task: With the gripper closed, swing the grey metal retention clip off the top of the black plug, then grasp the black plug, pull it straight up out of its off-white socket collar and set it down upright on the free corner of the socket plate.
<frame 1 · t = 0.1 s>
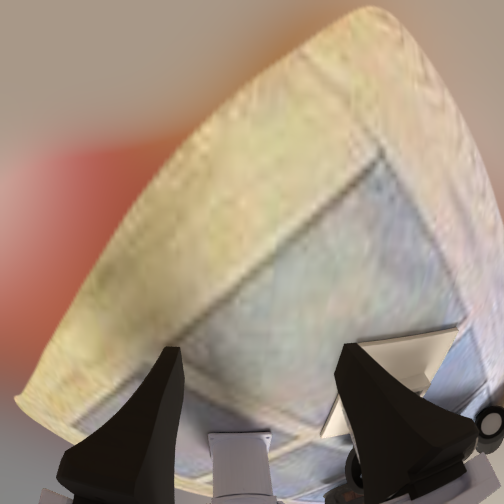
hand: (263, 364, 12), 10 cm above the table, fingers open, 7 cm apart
portable speaker: (482, 419, 47), on the table
clip: (394, 424, 26), point 5 cm above the table, hinge at 0.0°
tankard: (349, 486, 49), on the table
muzzle brake: (411, 431, 38), on the table
socket base: (390, 392, 30), on the table
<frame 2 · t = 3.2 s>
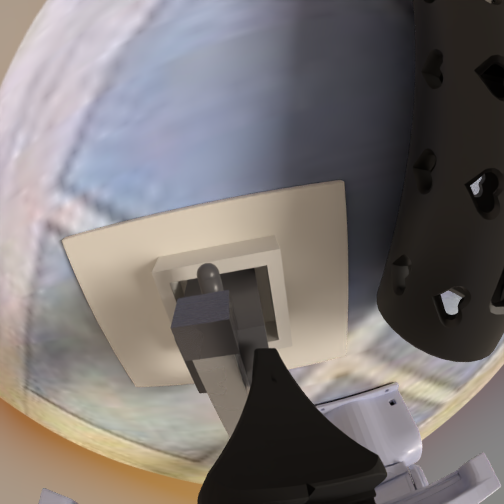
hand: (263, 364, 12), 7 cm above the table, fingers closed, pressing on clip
clip: (233, 360, 15), point 5 cm above the table, hinge at 0.2°, touching gripper
muzzle brake: (430, 85, 14), on the table
plug: (227, 295, 18), point 1 cm above the table, touching socket base
socket base: (227, 290, 19), on the table
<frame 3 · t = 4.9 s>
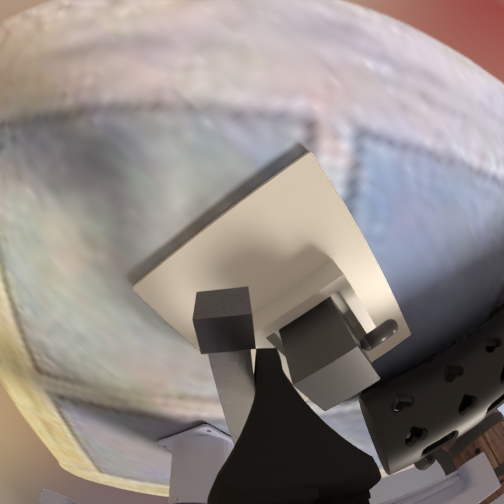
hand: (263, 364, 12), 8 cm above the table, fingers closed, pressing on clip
clip: (237, 358, 15), point 5 cm above the table, hinge at 58.4°, touching gripper
tankard: (453, 422, 35), on the table
muzzle brake: (463, 334, 25), on the table
plug: (314, 321, 20), point 1 cm above the table, touching socket base
socket base: (312, 316, 21), on the table
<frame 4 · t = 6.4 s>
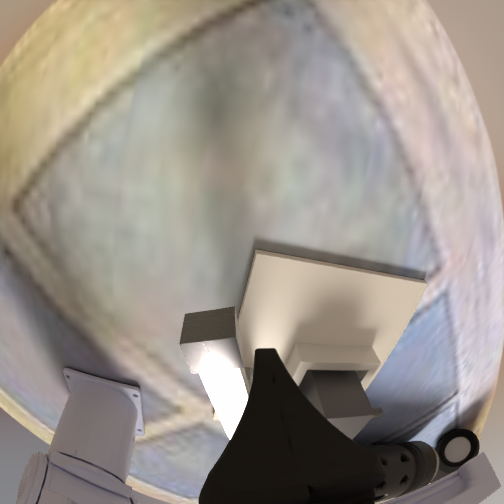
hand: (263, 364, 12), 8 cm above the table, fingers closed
portable speaker: (443, 446, 42), on the table
clip: (235, 368, 15), point 5 cm above the table, hinge at 111.7°, touching gripper
muzzle brake: (351, 443, 32), on the table
plug: (320, 375, 23), point 1 cm above the table, touching socket base
socket base: (318, 370, 23), on the table
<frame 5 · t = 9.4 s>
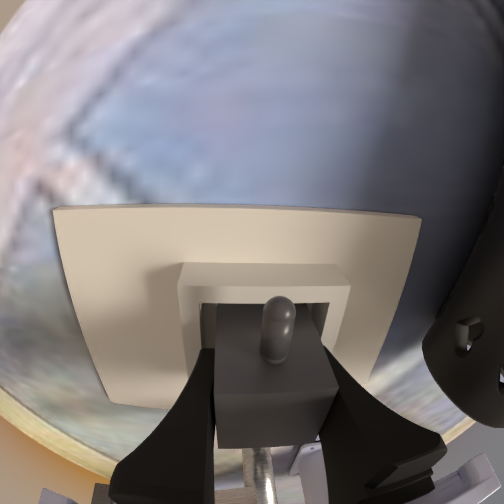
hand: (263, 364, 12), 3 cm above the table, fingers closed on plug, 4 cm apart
clip: (178, 465, 14), point 5 cm above the table, hinge at 111.9°
plug: (257, 324, 14), point 1 cm above the table, touching gripper, socket base
socket base: (256, 317, 15), on the table
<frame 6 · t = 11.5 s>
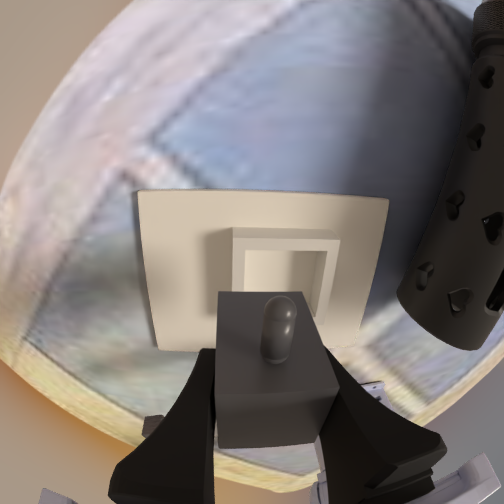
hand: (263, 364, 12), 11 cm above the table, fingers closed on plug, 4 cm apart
clip: (217, 392, 21), point 5 cm above the table, hinge at 111.9°
muzzle brake: (462, 142, 19), on the table
plug: (258, 324, 14), point 8 cm above the table, touching gripper
socket base: (278, 269, 22), on the table
when the fingers open (5 cm above the table, at t = 13.5 s): plug drops 2 cm, resting on socket base.
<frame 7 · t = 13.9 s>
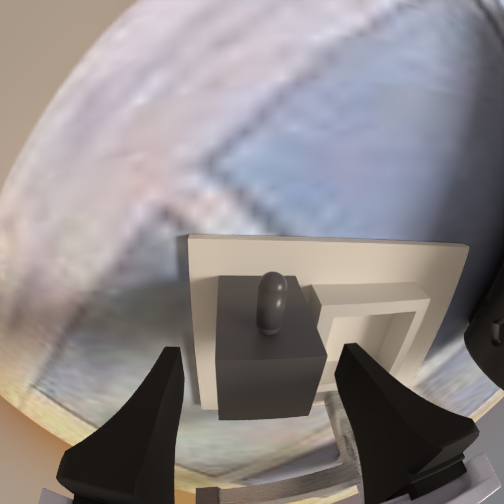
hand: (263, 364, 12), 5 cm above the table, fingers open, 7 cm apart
clip: (277, 457, 16), point 5 cm above the table, hinge at 111.9°
plug: (255, 307, 16), point 1 cm above the table, touching socket base
socket base: (351, 324, 18), on the table
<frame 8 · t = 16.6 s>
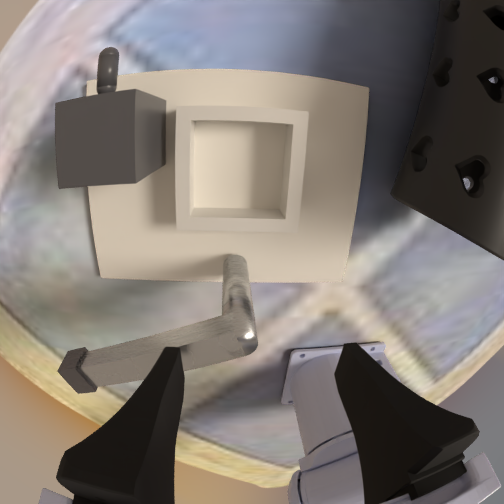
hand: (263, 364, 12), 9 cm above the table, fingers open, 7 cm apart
clip: (157, 322, 16), point 5 cm above the table, hinge at 111.9°
muzzle brake: (447, 49, 14), on the table
plug: (134, 134, 16), point 1 cm above the table, touching socket base
socket base: (238, 164, 17), on the table
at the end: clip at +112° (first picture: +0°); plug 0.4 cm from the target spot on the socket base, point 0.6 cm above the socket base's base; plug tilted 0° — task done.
